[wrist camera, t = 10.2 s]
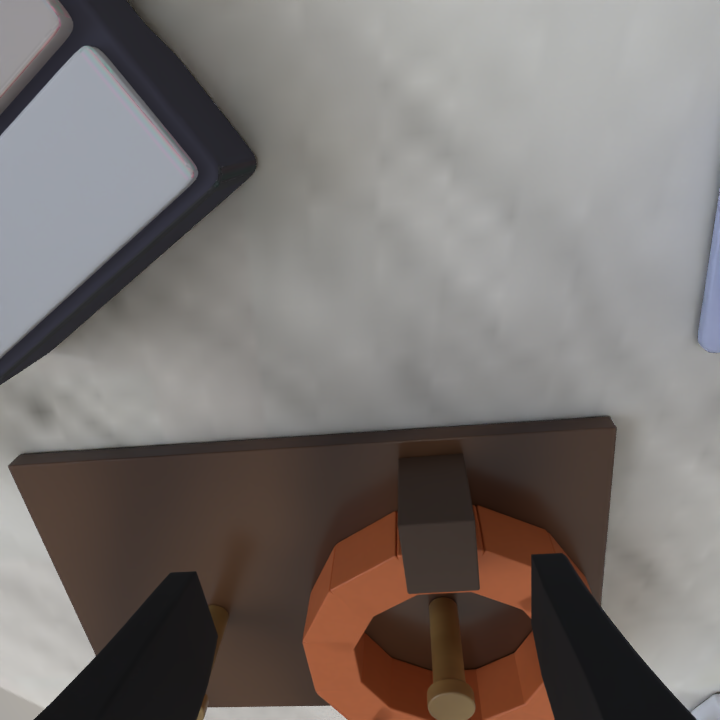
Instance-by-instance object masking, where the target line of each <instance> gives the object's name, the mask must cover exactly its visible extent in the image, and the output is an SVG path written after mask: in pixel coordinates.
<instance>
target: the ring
mask: <svg viewBox="0 0 720 720" xmlns="http://www.w3.org/2000/svg"><path fill="white" fill-rule="evenodd" d="M551 553H563V554H564V555H565V556H566V557H567V558H568V559H569V561H570V563H571V564H572V566H573V567H574V569H575V570H576V572H577V574H578V575H579V577H580V578H581V580H582V581H583V583H584V584H585V585H586V587H587V588H588V590H589V591H590V593H591V590H590V587H589V585H588V582H587V579H586V577H585V576H584V575H583V574H582V572H581V571H580V570H579V569H578V567H577V566H576V565H575V564H574V563H573V561H572V560H571V559H570V558H569V556H568V555H567V554H566V553H565V552H564V550H563V549H562V548H561V547H560V545H559V544H558V543H557V542H556V541H555V539H554V538H553V537H552V536H551V534H550V533H548V532H547V531H546V530H545V529H542V528H539V527H537V526H534V525H531V524H528V523H526V522H523V521H520V520H517V519H515V518H512V517H509V516H507V515H504V514H501V513H498V512H496V511H493V510H490V509H487V508H485V507H482V506H479V505H477V506H476V507H475V505H472V500H471V494H470V488H469V483H468V477H467V471H466V465H465V459H464V455H463V454H462V453H460V454H448V455H436V456H424V457H411V458H400V459H398V512H397V511H394V512H392V513H390V514H389V515H387V516H385V517H383V518H382V519H380V520H378V521H376V522H374V523H373V524H371V525H369V526H367V527H366V528H364V529H362V530H360V531H358V532H357V533H355V534H353V535H351V536H349V537H348V538H346V539H344V540H342V541H341V542H339V543H337V544H336V545H335V546H334V548H333V550H332V552H331V554H330V556H329V558H328V560H327V562H326V564H325V566H324V568H323V570H322V572H321V574H320V576H319V577H318V579H317V581H316V583H315V585H314V587H313V589H312V591H311V594H310V599H309V605H308V611H307V617H306V623H305V628H304V634H303V642H302V643H303V647H304V650H305V654H306V658H307V662H308V665H309V669H310V673H311V676H312V680H313V684H314V687H315V691H316V692H317V694H318V695H319V696H320V697H322V698H323V699H324V700H325V701H326V702H327V703H329V704H330V705H331V706H332V707H333V708H335V709H336V710H337V711H338V712H339V713H340V714H342V715H343V716H344V717H345V718H346V719H348V720H437V719H435V718H434V717H433V716H432V715H431V714H430V713H429V711H428V707H427V691H428V688H429V687H430V686H431V685H432V684H433V671H431V670H428V669H425V668H421V667H418V666H415V665H412V664H409V663H406V662H403V661H400V660H397V659H394V658H391V657H390V656H389V655H388V654H387V653H386V652H385V651H384V650H383V649H382V648H381V647H380V646H379V645H378V644H377V643H375V642H374V641H373V640H372V639H371V638H370V637H369V636H368V635H367V634H366V633H365V630H366V628H367V627H368V625H369V623H370V622H371V620H372V618H373V617H374V616H376V615H378V614H380V613H382V612H384V611H386V610H388V609H390V608H392V607H394V606H396V605H398V604H400V603H402V602H404V601H406V600H408V599H410V598H412V597H414V596H416V595H422V594H441V593H460V592H473V593H476V594H479V595H482V596H485V597H487V598H490V599H493V600H496V601H499V602H502V603H505V604H508V605H511V606H513V607H516V608H519V609H522V610H523V611H524V612H525V613H526V614H527V615H528V616H529V617H530V618H531V554H551ZM591 594H592V593H591ZM464 671H465V680H466V683H467V684H469V685H470V686H471V688H472V689H473V692H474V698H475V706H476V709H475V712H474V714H473V715H472V716H471V717H470V718H469V719H467V720H555V719H554V715H553V712H552V709H551V705H550V702H549V699H548V696H547V692H546V689H545V686H544V682H543V679H542V675H541V670H540V666H539V661H538V656H537V651H536V646H535V641H534V636H533V630H532V632H531V633H530V634H529V635H528V637H527V638H526V639H525V640H524V642H523V643H522V644H521V645H520V647H519V648H518V649H517V650H516V652H515V653H513V654H510V655H508V656H506V657H503V658H501V659H499V660H496V661H494V662H492V663H489V664H487V665H485V666H482V667H480V668H478V669H469V670H464Z"/></svg>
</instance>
